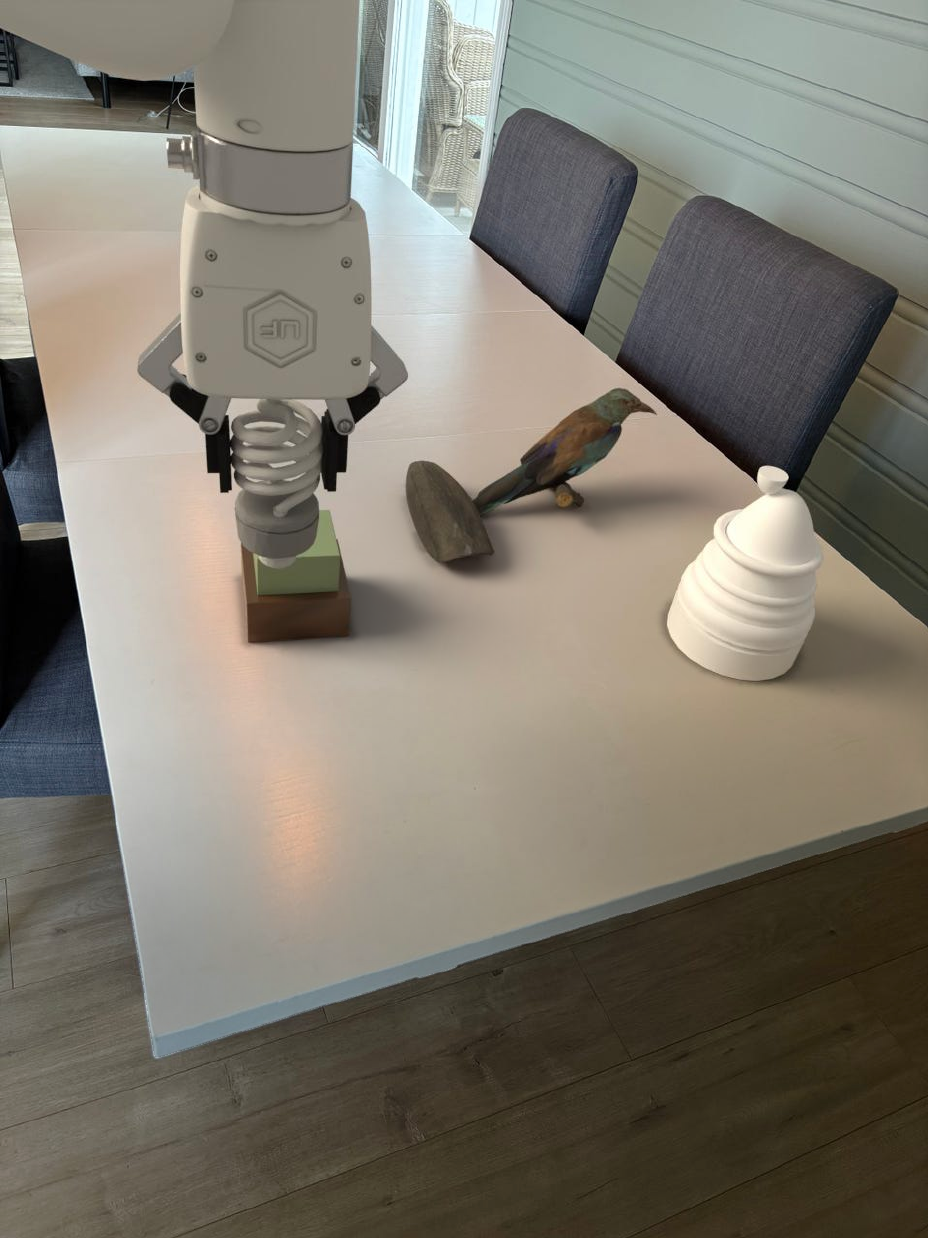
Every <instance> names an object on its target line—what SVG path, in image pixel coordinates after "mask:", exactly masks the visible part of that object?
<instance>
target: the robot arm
mask: <svg viewBox="0 0 928 1238" xmlns="http://www.w3.org/2000/svg"><path fill="white" fill-rule="evenodd" d="M360 1H361V0H0V29H1V30H3V31H6V32H8V33H10V34H13V35H15V36H17V37H20V38H21V39H24V40H26V41H29V42H31V43H33V44H35V45H37V46H40V47H42V48H45V49H46V50H49V51H51V52H53V53H56V54H57V55H60V56H62V57H64V58H67V59H69V60H71V61H73V62H76V63H79V64H81V65H83V66H86V67H87V68H90V69H94V70H96V71H99V72H101V73H104V74H106V75H109V76H113V77H116V78H121V79H126V80H134V81H141V82H142V81H143V82H147V81H159V80H160V81H161V80H166V79H169V78H173V77H176V76H178V75H179V76H180V75H182V74H184V73H186V72H187V71H189V70H190V69H192V68H193V85H194V87H193V88H194V102H195V119H196V130H190V136H185V135H182V137H181V138H173V137H166V155H167V167H168V168H169V169H177V170H183V171H184V173H187V174H192V179H193V180H198V181H199V184H198V185H196V186H194V187H192V188H190V189H189V190H188V192H187V196H186V197H185V202H184V207H183V214H182V221H181V232H180V255H179V257H180V258H179V294H180V295H179V297H180V313H179V314H178V315H176V317H175V318H174V319H173V320H172V321H171V322H170V323H169V324H168V325H167V326H166V328H165V329H164V330H162V332H161V333H160V334H158V336H157V337H156V338H155V339H154V340H153V341H152V342H151V343H150V344H149V346H148V347H146V349H145V350H144V351H142V353H141V354H140V355H139V357H138V361H137V374H138V376H140V377H141V378H142V379H143V380H145V381H146V382H147V383H149V384H150V385H151V386H152V387H153V388H155V389H156V390H158V391H159V392H160V393H161V394H164V395H166V396H167V397H168V398H169V399H170V401H171V402H172V403H173V404H174V405H175V406H176V407H177V408H178V409H180V410H181V411H182V412H183V413H184V414H185V415H187V416H188V417H189V418H191V419H192V420H193V421H194V422H195V423H197V424H198V427H199V429H200V431H201V432H202V433H203V434H204V440H205V455H206V456H205V457H206V473H207V474H218V475H219V493H220V494H229V493H230V491H233V479H232V478H233V477H232V464H231V454H232V453H231V451H232V450H231V447H230V440H231V428H230V415H229V414H227V412H228V409H229V406H230V404H231V401H232V399H240V400H241V399H242V400H244V399H246V400H260V399H292V400H304V401H305V400H307V401H308V400H309V401H311V400H313V401H314V400H317V401H318V400H319V401H321V400H322V401H323V400H324V402H325V405H326V409H325V411H324V412H323V414H324V415H321V418H320V422H321V425H322V431H323V432H322V437H321V438H322V440H323V444H324V452H323V454H322V457H323V467H322V471H321V473H320V476H321V479H322V485H323V486H322V487H323V490H326V491H327V493H335V492H337V483H338V482H337V481H338V479H337V478H338V474H339V473H342V474H343V473H347V471H348V470H347V468H348V451H349V450H348V449H349V435H351V434H352V433H353V432H355V429H356V424H357V423H359V422H360V421H361V420H362V419H363V418H365V417H366V416H367V415H368V414H370V413H371V412H372V411H373V410H374V409H375V408H377V407H378V406H379V404H380V402H381V400H382V399H384V398H385V397H386V398H387V397H388V396H389V395H390V394H392V393H393V392H394V391H396V390H397V389H398V388H399V387H402V386H403V384H404V383H406V382H407V381H408V379H409V373H408V370H407V367H406V365H405V363H404V361H403V360H402V358H400V356H399V355H398V354H397V353H396V352H395V350H394V349H392V347H391V346H390V345H389V344H388V342H387V341H386V340H385V339H384V338H383V336H382V335H381V334H380V333H379V331H378V330H377V329H375V327H374V326H373V325H372V311H373V310H372V304H373V303H372V300H373V299H372V298H373V297H372V262H371V259H372V258H371V249H370V237H369V228H368V221H367V215H366V212H365V210H364V208H363V207H362V205H361V204H360V203H359V202H358V201H357V200H356V199H354V198H352V182H353V181H352V178H353V157H354V129H355V107H356V106H355V105H356V87H357V86H356V85H357V61H358V45H359V43H358V42H359V23H360V3H361V2H360ZM181 355H182V359H183V366H184V372H185V373H181V372H179V371H178V369H177V368H176V367H174V366H173V364H174V363H175V362H176V361H177V359H179V357H180V356H181ZM371 363H372V364H373V366H375V369H374V371H372V372H371ZM370 372H371V373H370Z"/></svg>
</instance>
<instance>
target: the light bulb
mask: <svg viewBox="0 0 928 1238" xmlns="http://www.w3.org/2000/svg"><path fill="white" fill-rule="evenodd" d="M296 414H297V415H298V416H296ZM299 416H300V417H299ZM261 422H262V423H264V422H266V423H276V424H280V425H284V427H282V426H277V425H266V424H265V425H263V424H262V425H252V426H247V427H245V426H246V425H249V424H255V423H261ZM230 431H231V432H232V436H231V437H230V450H231V451H232V453H231V468H233V469H234V471H233V480H234V482H235V483H236V485H237V486H238V487H239V488H241V489H242V490H240V491H239V492H238V494H237V496H236V499H235V501H234V515H235V522H236V523H235V524H236V531H237V537H238V539H239V541H240V544H241V543H242V545H243V546H244V547H245V548H246V549H247V550H249V551H250V552H252V553H255V554H257V555H259V559H260V561H261V562H262V563H263V564H265V565H266V566H268V567H272V568H276V569H280V568H285V567H287V566H290V565H291V564H293V562H294V561H295V560H296V556H297V555H299V554H302V553H304V552H305V551H307V550H309V548H310V547H311V546H312V545H313V544H314V542H315V539H316V536H317V529H318V522H319V510H320V502H319V499H318V497H317V496H316V495H315V492H316V491H317V489H318V487H319V484H320V482H321V471H322V467H323V457H322V454H323V452H324V444H323V440H322V438H321V437H322V432H323V431H322V425H321V419H319V416H317V414H316V413H315V412H314V411H313V410H312V409H311V407H308V406H306V405H305V404H303V403H302V402H300V401H298V400H296V399H258V401H257V402H256V409H254V410H248V411H245V412H241V413H240V414H238V415H237V416H235V417H234V418H233V419H232V421H231V425H230ZM298 431H299V432H298ZM300 432H301V433H300ZM287 442H289V443H291V444H294V445H290V444H289V445H288V444H285V443H287ZM244 460H245V461H244ZM292 461H293V462H294V463H291V464H286V465H283V466H278V467H277V466H276V467H273V466H272V465H273V464H275V465H276V464H282V463H289V462H292ZM271 464H272V465H271ZM298 476H299V477H298ZM296 477H297V478H296ZM250 479H252V480H250ZM288 479H292V480H288ZM253 480H257V481H253Z"/></svg>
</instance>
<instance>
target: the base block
mask: <svg viewBox="0 0 928 1238" xmlns="http://www.w3.org/2000/svg"><path fill="white" fill-rule="evenodd" d="M336 540H337V544H338V549H339V553H340V567H339V588H338V591H334V592H315V593H295V594H275V595H258V593H257V585H256V576H255V567H254V558H253V553H252V552H250V551H249V550H247V549H246V548H245V547H244V546H243V545H242V543H241V542H240V559H241V560H240V562H241V563H240V564H241V584H242V595H243V604H244V616H245V625H246V627H245V628H246V637H247V642H248V643H257V642H258V643H259V642H261V643H262V642H274V641H276V642H277V641H291V640H305V639H306V640H307V639H321V638H322V639H323V638H337V637H349V635H350V626H351V625H350V622H351V609H352V605H351V604H352V596H351V592H350V588H349V587H350V586H349V582H348V578H347V574H346V569H345V566H344V562H343V561H344V560H343V556H342V552H341V548H340V547H341V546H340V544H339V539H338V538H336Z"/></svg>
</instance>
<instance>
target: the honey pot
mask: <svg viewBox="0 0 928 1238" xmlns="http://www.w3.org/2000/svg"><path fill="white" fill-rule="evenodd" d="M756 476H757V477H756V481H757V486H758V488H759V490H760V491H761V492H762V493H764V495H762V496H760V497H758V498H757V499H756V500H754V501H752V503H750V504H749V505H748V506H746V507H745V508H741V509H739V508H738V509H734V510H731V511H730V510H729V511H727V512H725V513H724V514H722V515H720V516H719V517H718V518H717V519H716V521H715V523H714V524H713V538H712V539H711V540H710V541H708V542H707V543H706V544H705V546H704V548H703V549H702V551H700V552H699V554H698V555H697V557H696V558H695V560H693V561H692V562H691V563H689V564H688V566H687V567H686V568H685V570H684V572H683V574H682V575H681V577H680V582H679V584H678V587H677V589H676V591H675V594H674V597H673V599H672V602H671V604H670V608H669V611H668V613H667V622H666V626H667V631H668V633H669V636H670V638H671V639H672V641H673V642H674V644H675V645H676V648H678V649H679V650H680V651H681V652H682V653H683V654H684V655H685V656H687V658H689V659H690V660H691V661H693V662H695V663H696V664H698V665H699V666H701V667H702V668H704V669H706V670H708V671H711V672H713V673H716V674H718V675H720V676H723V677H728V678H732V679H736V680H738V681H753V682H759V681H768V680H773V679H775V678H778V677H780V676H783V675H784V674H786V673H787V672H788V671H789V670H790V669H791V668H792V667H793V665H794V663H795V661H796V660H797V657H798V655H799V653H800V651H801V649H802V647H803V645H804V643H805V641H806V638H807V637H808V634H809V631H810V630H811V628H812V625H813V623H814V620H815V617H816V610H815V601H816V590H817V587H818V580H817V575H816V571H817V570H818V569H820V568H821V566H822V564H823V561H824V557H825V556H824V549H823V546H822V544H821V543H820V541H819V539H818V538H817V537H816V536H815V530H814V524H813V520H812V519H813V518H812V515H811V512H810V510H809V506H807V503H806V501H805V500H804V498H803V497H802V496H801V495H800V494H799V493H797V492H796V491H794V490H791V489H786V488H784V486H785V485H786V484H787V482H788V480H789V475H788V473H787V472H786V471H785V470H783V469H781V468H779V467H776V466H772V465H763V466H761V467H759V469H758V472H757V475H756Z"/></svg>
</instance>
